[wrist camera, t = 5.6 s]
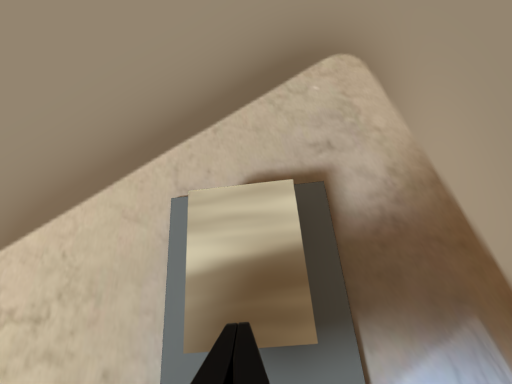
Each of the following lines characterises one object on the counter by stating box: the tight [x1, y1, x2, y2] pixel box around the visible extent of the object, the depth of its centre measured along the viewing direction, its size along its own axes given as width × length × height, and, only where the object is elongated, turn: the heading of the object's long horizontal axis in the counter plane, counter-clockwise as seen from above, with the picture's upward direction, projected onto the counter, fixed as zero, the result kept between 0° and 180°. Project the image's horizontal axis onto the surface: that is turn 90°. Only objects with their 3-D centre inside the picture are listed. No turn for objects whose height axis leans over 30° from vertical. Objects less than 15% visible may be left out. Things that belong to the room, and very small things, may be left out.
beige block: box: [183, 179, 318, 354], centre depth 14 cm, size 4×6×8 cm
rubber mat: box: [160, 181, 365, 384], centre depth 15 cm, size 16×11×1 cm
